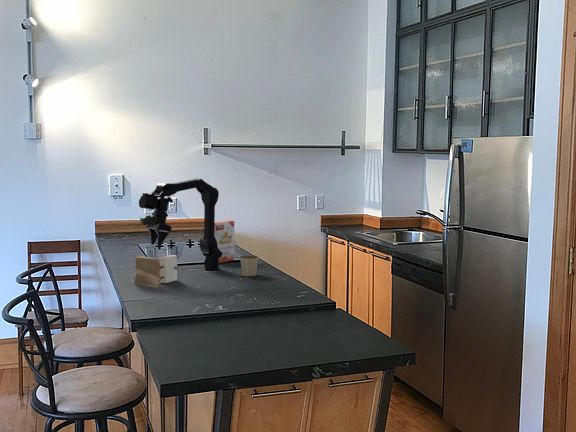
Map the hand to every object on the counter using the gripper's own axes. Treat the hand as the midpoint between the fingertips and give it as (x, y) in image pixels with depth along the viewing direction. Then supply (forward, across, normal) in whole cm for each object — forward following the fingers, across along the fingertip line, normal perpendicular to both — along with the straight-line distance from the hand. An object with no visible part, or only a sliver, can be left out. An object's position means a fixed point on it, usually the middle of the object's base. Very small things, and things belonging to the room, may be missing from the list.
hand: (155, 245), depth 288 cm
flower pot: (+8, +12, +42) cm, 45 cm away
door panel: (+14, +10, +5) cm, 18 cm away
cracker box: (+6, -26, +44) cm, 52 cm away
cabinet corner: (+15, +9, 0) cm, 18 cm away
